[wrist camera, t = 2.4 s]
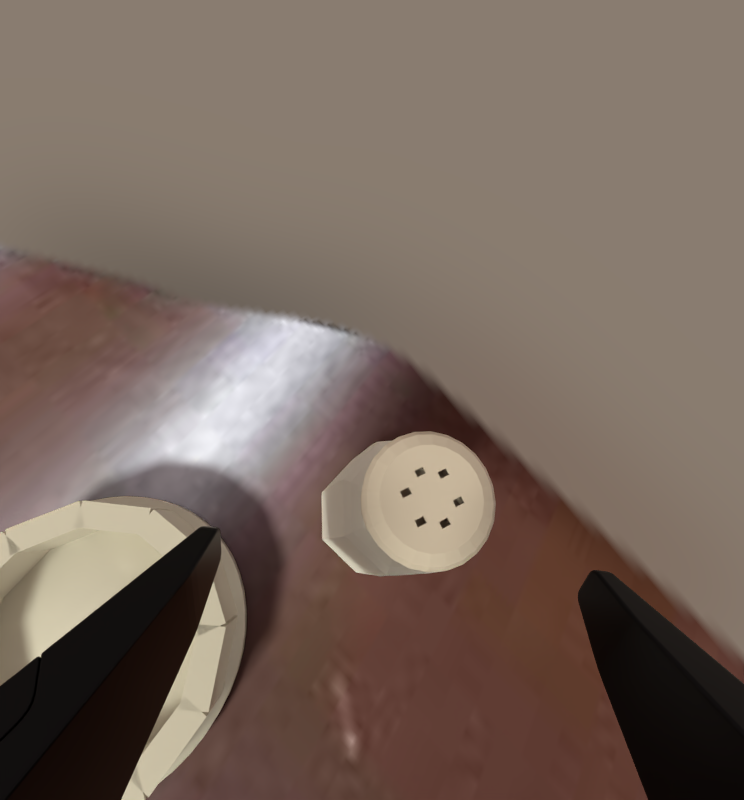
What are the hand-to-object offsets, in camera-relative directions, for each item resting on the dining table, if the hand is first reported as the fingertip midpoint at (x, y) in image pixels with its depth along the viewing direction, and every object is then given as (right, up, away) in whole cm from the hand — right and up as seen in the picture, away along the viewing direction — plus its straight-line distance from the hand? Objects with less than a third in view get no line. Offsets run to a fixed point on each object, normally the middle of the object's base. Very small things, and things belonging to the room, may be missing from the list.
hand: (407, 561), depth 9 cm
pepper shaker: (-1, -2, +9) cm, 9 cm away
